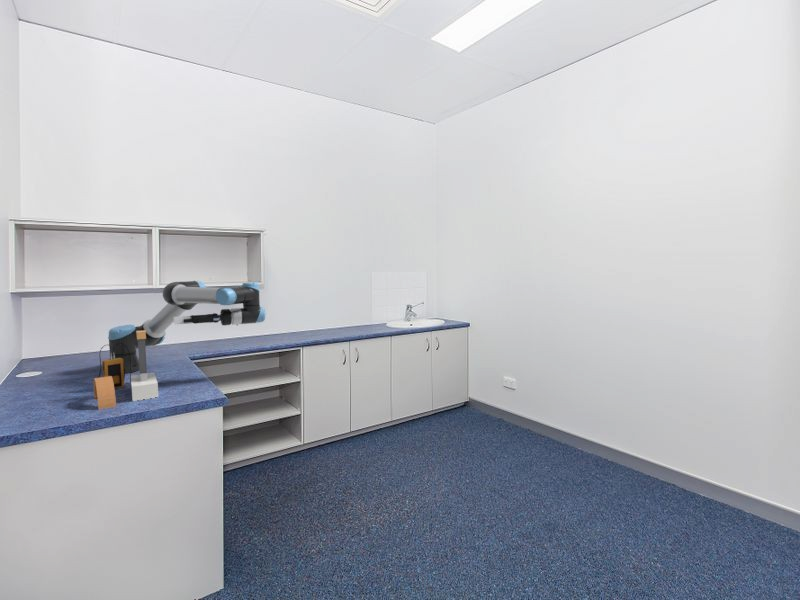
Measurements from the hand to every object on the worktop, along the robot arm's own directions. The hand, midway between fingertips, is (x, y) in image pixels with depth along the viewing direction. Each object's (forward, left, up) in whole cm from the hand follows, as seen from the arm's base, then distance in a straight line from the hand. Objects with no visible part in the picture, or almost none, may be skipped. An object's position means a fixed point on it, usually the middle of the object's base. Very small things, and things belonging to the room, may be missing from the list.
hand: (174, 320), depth 187 cm
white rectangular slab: (0, -13, -30) cm, 33 cm away
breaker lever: (0, -13, -22) cm, 26 cm away
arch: (+5, -26, -30) cm, 41 cm away
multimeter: (-20, -25, -30) cm, 44 cm away
